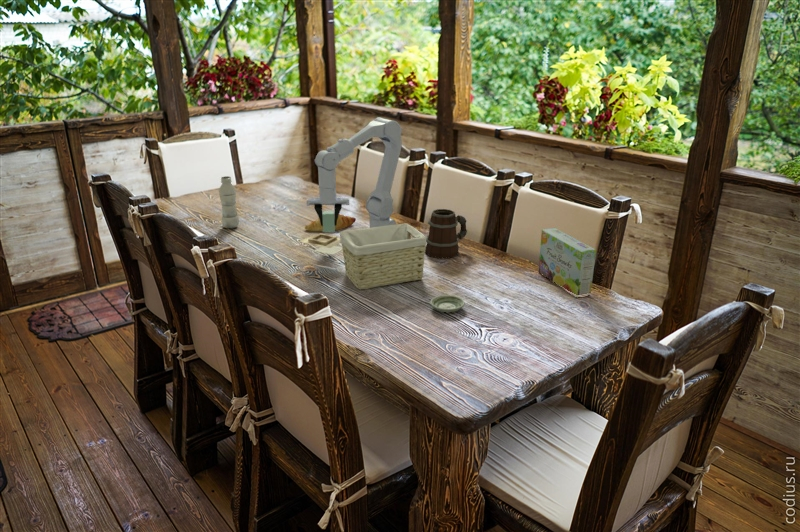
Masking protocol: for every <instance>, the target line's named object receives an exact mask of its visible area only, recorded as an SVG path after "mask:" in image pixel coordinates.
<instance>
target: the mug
mask: <svg viewBox="0 0 800 532" xmlns="http://www.w3.org/2000/svg"><path fill="white" fill-rule="evenodd" d="M466 223H467V220H466V218H465V216H463V215H459V214H458V215H457V216H456V212H455V211H453V210H451V209H446V208H438V209H434V210H433V211H432V212H431V216H430V218H429V219H428V222H427V224H428V225H429V228H428V229H429V230H428V235H427V236H426V250H425V254H426V255H427V256H429V257H431V258H436V259H439V258H440V260H442V258H444V259H453V258H454V257H458V256H459V251H460V250H459V248H460V247H459V241H460V240H463V239H464V238H465V237H466V235H467V233H468V229H467V224H466ZM458 224H459V225H460V229H459V232H458V233H457V226H458Z"/></svg>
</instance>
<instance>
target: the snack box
mask: <svg viewBox="0 0 800 532" xmlns="http://www.w3.org/2000/svg"><path fill="white" fill-rule="evenodd" d="M540 237H541V238H540V247H539V248H540V249H539V261H538V272H539V274H540V273H541V274H543V275H544V276H546V277H547V278H549V279H550V280H552V281H553V282H555V283H557V284H558V285H560V286H562V287H564V288H565V289H567V290H568V291H570V292H572V293H574V294H576V295H582V294H587V293H592V285H593V278H594V277H593V276H594V269H595V263H596V261H595V260H596V254H597V249H596V248H593V247H592V246H590V245H588V244H586V243H584V242H583V241H580V240H578V239H576V238H575V237H573V236H571V235H569V234H567V233H565V232H564V231H562V230H560V229H557V228H556V227H554V228H544V229H541V235H540ZM541 274H540V275H541ZM543 275H542V276H543ZM544 276H543V277H544ZM546 277H545V278H546ZM547 278H546V279H547ZM549 279H548V280H549ZM550 280H549V281H550ZM552 281H551V282H552ZM553 282H552V283H553ZM555 283H554V284H555ZM558 285H557V286H558Z"/></svg>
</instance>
